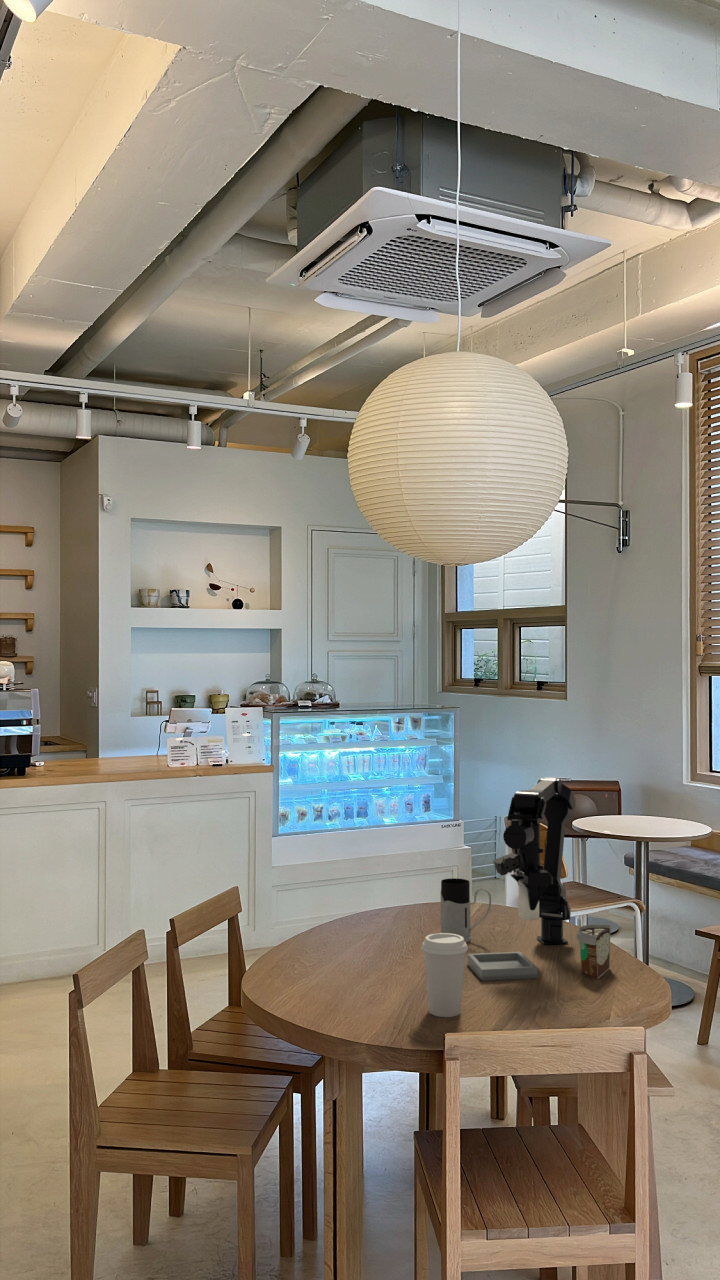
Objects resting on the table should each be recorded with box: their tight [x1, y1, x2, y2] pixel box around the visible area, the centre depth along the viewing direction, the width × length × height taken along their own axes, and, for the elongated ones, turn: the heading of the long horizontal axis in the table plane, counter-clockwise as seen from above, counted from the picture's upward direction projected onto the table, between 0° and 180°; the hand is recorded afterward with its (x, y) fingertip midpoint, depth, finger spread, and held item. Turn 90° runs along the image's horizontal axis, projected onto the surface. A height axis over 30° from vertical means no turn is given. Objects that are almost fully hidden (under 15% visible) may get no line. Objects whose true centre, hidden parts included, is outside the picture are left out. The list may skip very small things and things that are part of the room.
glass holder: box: [440, 878, 492, 943], centre depth 255 cm, size 9×14×15 cm, turn 64°
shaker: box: [518, 879, 540, 921], centre depth 238 cm, size 5×5×9 cm
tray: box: [467, 951, 538, 982], centre depth 227 cm, size 13×13×2 cm
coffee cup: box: [421, 932, 469, 1018], centre depth 200 cm, size 10×10×15 cm
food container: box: [576, 923, 612, 980], centre depth 227 cm, size 12×6×10 cm, turn 149°
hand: (529, 907), depth 237 cm, fingers closed on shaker, 5 cm apart
